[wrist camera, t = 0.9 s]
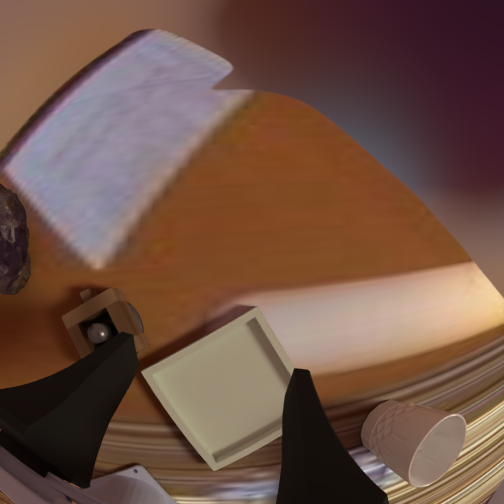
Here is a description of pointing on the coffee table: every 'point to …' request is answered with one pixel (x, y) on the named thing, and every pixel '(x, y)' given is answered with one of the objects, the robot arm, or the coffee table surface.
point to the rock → (13, 243)
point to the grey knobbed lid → (107, 327)
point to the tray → (226, 388)
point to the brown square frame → (95, 308)
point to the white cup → (414, 440)
